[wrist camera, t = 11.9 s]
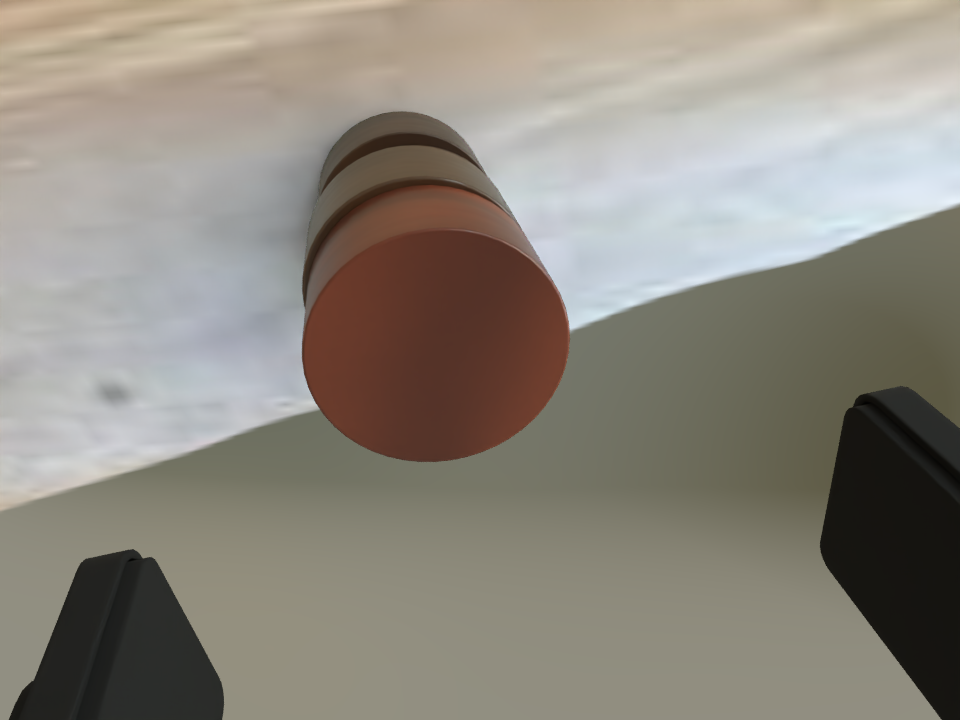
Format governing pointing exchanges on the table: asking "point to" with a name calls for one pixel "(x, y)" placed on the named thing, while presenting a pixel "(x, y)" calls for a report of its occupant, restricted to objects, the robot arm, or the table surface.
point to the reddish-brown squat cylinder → (431, 326)
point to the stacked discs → (391, 170)
